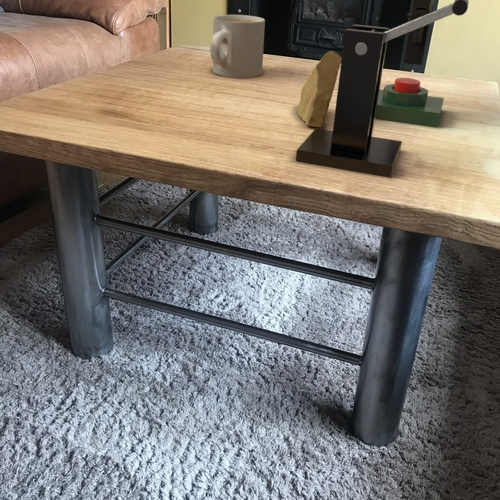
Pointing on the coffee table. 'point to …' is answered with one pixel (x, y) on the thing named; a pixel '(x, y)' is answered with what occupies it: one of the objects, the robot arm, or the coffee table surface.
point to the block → (409, 106)
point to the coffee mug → (237, 45)
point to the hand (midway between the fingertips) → (413, 63)
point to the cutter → (355, 111)
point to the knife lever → (427, 19)
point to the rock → (319, 90)
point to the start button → (407, 85)
